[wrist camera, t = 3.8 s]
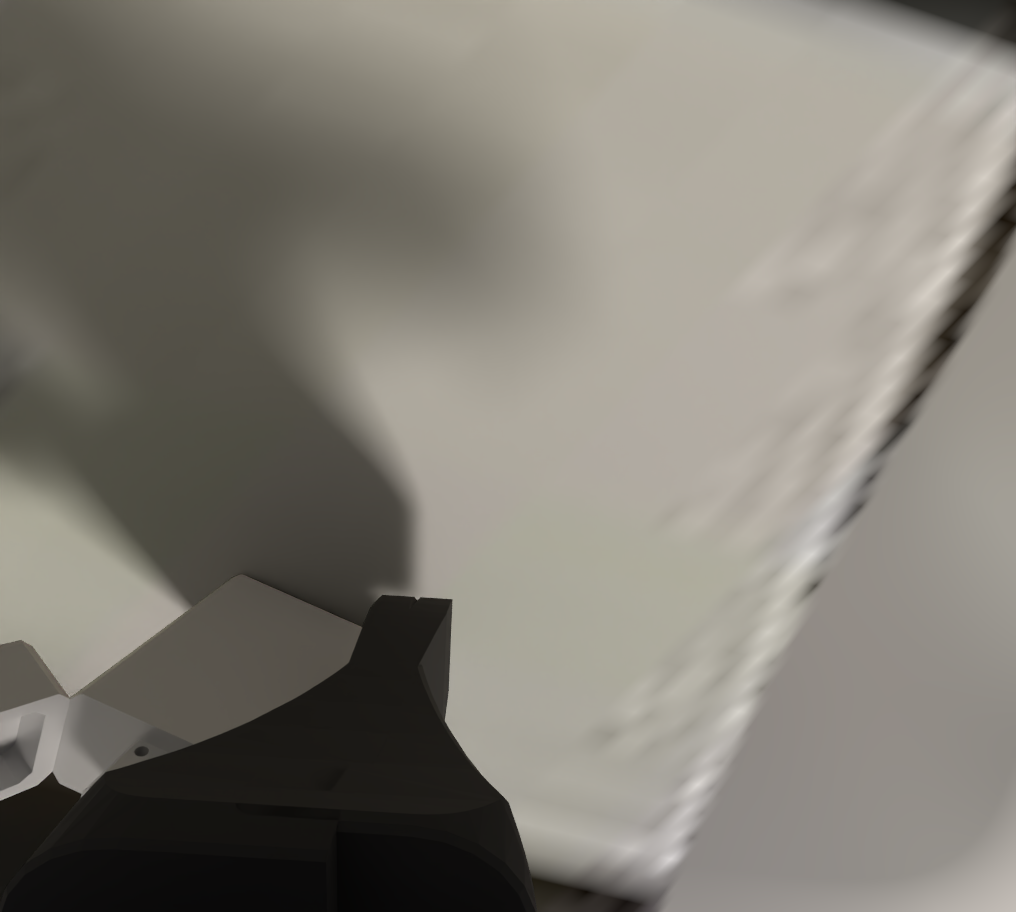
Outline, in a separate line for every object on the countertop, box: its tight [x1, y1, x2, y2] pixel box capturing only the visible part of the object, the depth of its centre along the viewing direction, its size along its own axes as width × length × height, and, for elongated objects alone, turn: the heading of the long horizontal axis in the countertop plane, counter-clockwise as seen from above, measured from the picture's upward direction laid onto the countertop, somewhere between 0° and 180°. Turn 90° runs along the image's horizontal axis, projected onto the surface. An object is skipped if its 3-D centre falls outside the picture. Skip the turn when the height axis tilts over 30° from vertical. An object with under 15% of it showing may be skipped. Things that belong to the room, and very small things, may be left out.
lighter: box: [0, 574, 362, 801], centre depth 9 cm, size 7×2×8 cm, turn 68°
